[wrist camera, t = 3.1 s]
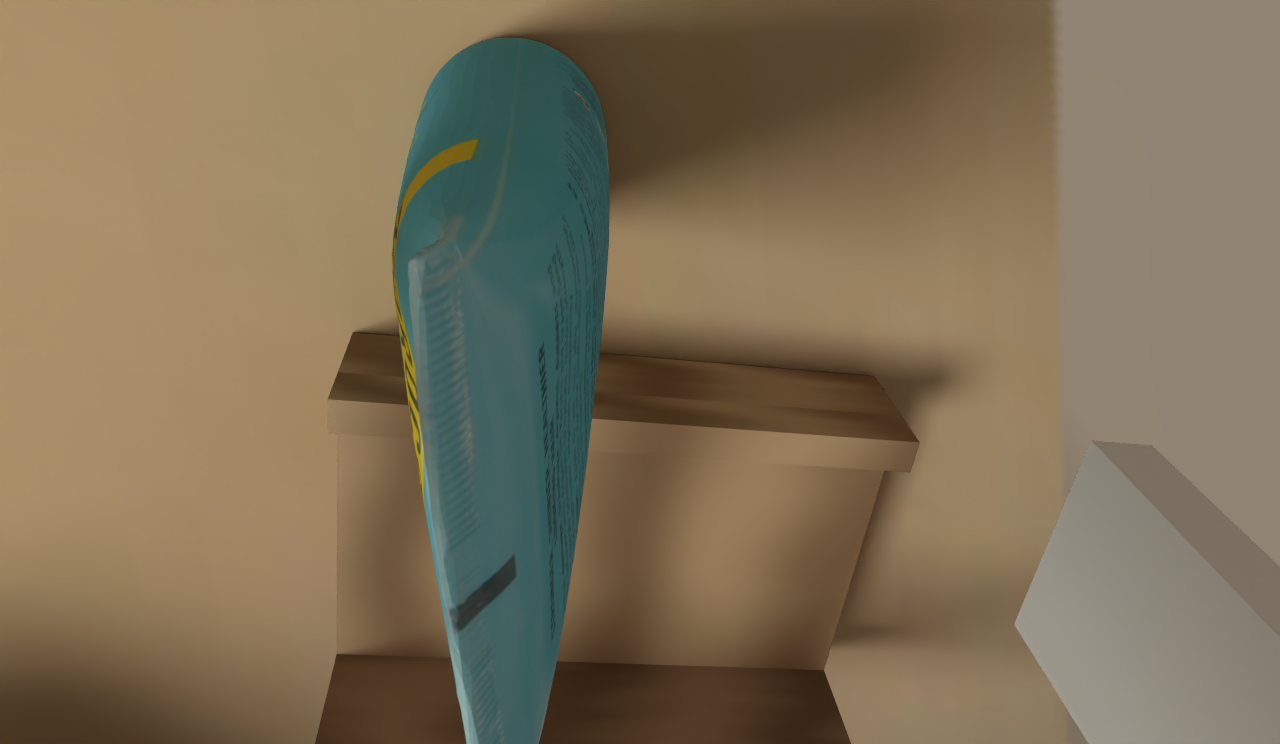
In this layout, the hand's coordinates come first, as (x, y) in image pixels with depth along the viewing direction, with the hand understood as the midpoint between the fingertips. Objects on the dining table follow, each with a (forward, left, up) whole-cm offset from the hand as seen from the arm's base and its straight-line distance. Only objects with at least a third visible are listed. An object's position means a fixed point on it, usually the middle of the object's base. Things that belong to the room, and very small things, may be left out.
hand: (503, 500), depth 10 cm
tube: (0, 0, -18) cm, 18 cm away
